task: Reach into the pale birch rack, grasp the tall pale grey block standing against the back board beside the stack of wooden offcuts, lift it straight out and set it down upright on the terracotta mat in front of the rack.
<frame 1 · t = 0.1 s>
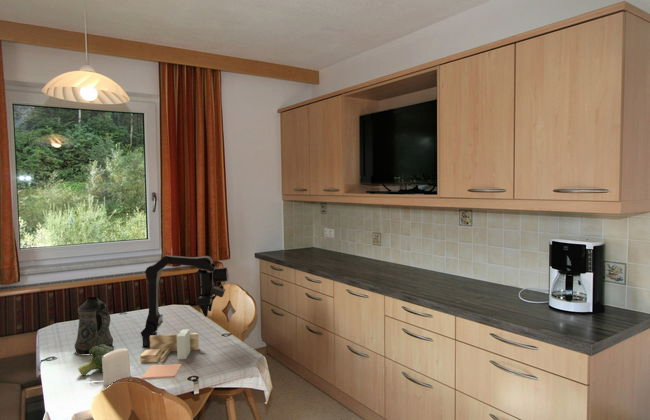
hand: (208, 313, 214), 15 cm above the table, tool pointing down, fingers open, 9 cm apart
tall pale grey block: (184, 356, 198), on the table
offcut top: (150, 355, 195), point 2 cm above the table, touching offcut middle
mat: (162, 371, 182), on the table
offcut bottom: (151, 361, 195), on the table, touching offcut middle
beer stein: (97, 349, 211), on the table
rack: (169, 358, 196), on the table
vegetable: (98, 373, 183), on the table
offcut middle: (151, 358, 196), point 1 cm above the table, touching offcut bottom, offcut top
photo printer: (117, 381, 175), on the table
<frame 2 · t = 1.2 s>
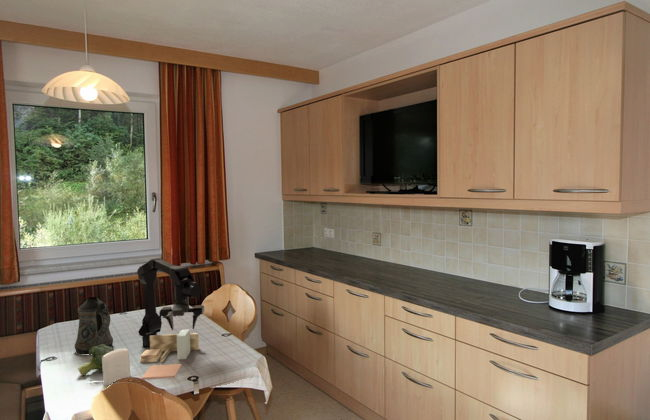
hand: (183, 329, 198), 12 cm above the table, tool pointing down, fingers open, 9 cm apart
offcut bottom: (151, 362, 195), on the table
offcut middle: (151, 358, 196), point 1 cm above the table, touching offcut top
everything else where it was.
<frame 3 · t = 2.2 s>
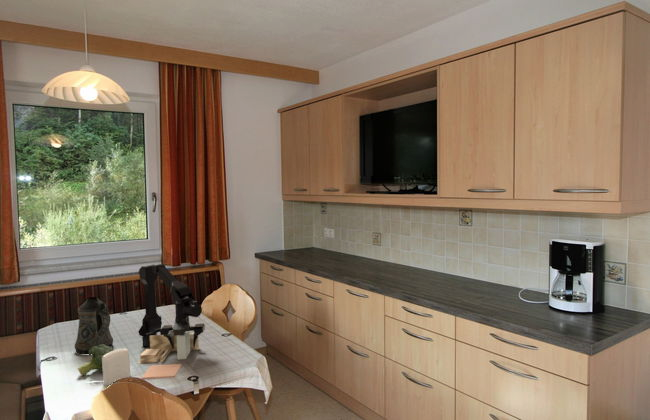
hand: (183, 347, 198), 4 cm above the table, tool pointing down, fingers open, 9 cm apart
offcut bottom: (151, 361, 195), on the table, touching offcut middle
offcut middle: (151, 358, 196), point 1 cm above the table, touching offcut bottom, offcut top
everything else where it was.
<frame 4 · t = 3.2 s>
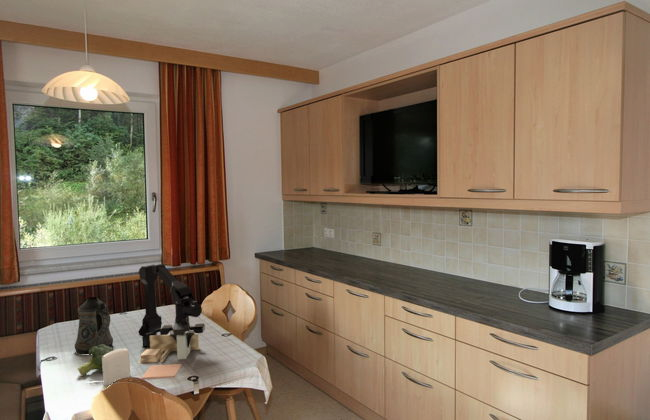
hand: (183, 347, 198), 4 cm above the table, tool pointing down, fingers closed on tall pale grey block, 3 cm apart
tall pale grey block: (184, 356, 198), on the table, touching gripper
offcut top: (151, 355, 195), point 2 cm above the table
offcut middle: (151, 358, 196), point 1 cm above the table, touching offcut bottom
everything else where it was.
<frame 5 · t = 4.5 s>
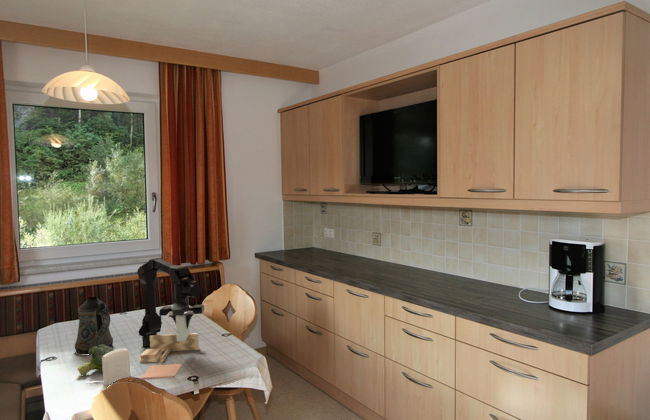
hand: (183, 328, 198), 13 cm above the table, tool pointing down, fingers closed on tall pale grey block, 3 cm apart
tall pale grey block: (183, 337, 198), point 9 cm above the table, touching gripper
everything else where it was.
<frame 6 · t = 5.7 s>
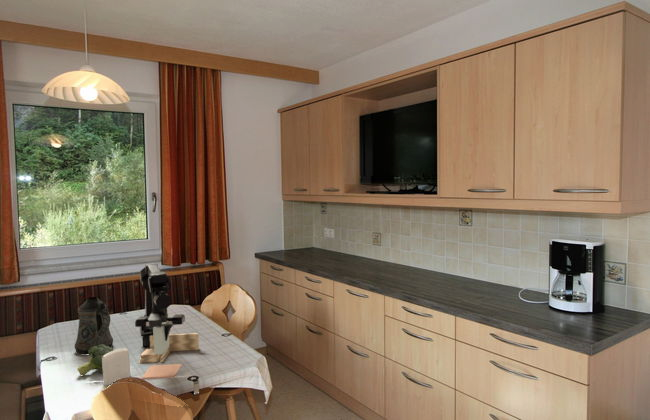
hand: (161, 340, 182), 13 cm above the table, tool pointing down, fingers closed on tall pale grey block, 3 cm apart
tall pale grey block: (161, 350, 182), point 9 cm above the table, touching gripper
offcut top: (150, 355, 195), point 2 cm above the table, touching offcut middle
offcut middle: (150, 358, 196), point 1 cm above the table, touching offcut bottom, offcut top
everything else where it was.
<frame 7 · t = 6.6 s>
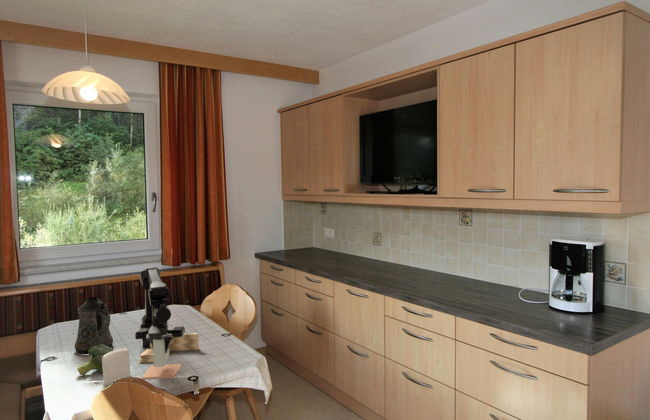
hand: (161, 352, 182), 8 cm above the table, tool pointing down, fingers closed on tall pale grey block, 3 cm apart
tall pale grey block: (162, 362, 182), point 4 cm above the table, touching gripper
everything else where it was.
when the fingers open (6 cm above the table, at t = 7.7 s): tall pale grey block drops 1 cm, resting on mat.
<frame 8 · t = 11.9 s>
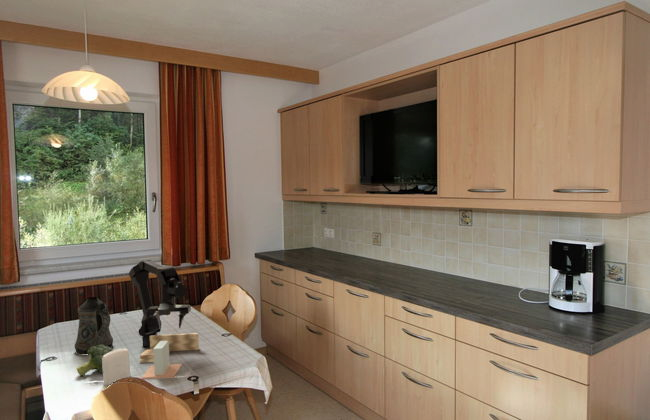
hand: (169, 328, 201), 12 cm above the table, tool pointing down, fingers open, 9 cm apart
tall pale grey block: (162, 370, 182), point 1 cm above the table, touching mat
everything else where it was.
at the end: tall pale grey block inside the target area (0.0 cm from its centre), point 0.6 cm above the table; tall pale grey block tilted 0°; offcut top moved 1.1 cm from its start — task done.
